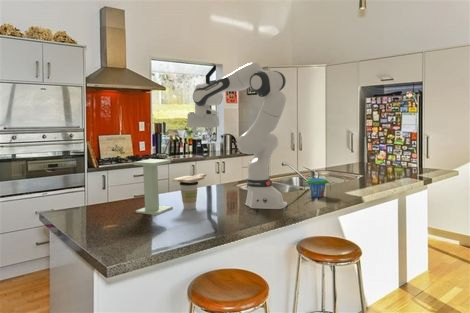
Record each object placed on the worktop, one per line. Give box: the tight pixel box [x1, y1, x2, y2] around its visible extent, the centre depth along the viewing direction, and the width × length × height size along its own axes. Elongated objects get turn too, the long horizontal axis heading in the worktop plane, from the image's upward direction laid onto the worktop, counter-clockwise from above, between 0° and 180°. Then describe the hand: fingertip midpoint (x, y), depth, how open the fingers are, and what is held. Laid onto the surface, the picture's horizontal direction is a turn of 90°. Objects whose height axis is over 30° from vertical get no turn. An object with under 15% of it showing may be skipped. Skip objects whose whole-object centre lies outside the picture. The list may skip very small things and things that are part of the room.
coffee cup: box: [179, 181, 199, 211], centre depth 198 cm, size 10×10×15 cm
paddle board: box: [172, 173, 207, 183], centre depth 201 cm, size 12×21×1 cm, turn 155°
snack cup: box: [303, 177, 332, 198], centre depth 221 cm, size 16×10×10 cm
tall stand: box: [132, 158, 174, 216], centre depth 193 cm, size 13×14×26 cm
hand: (203, 135), depth 223 cm, fingers open, 8 cm apart
